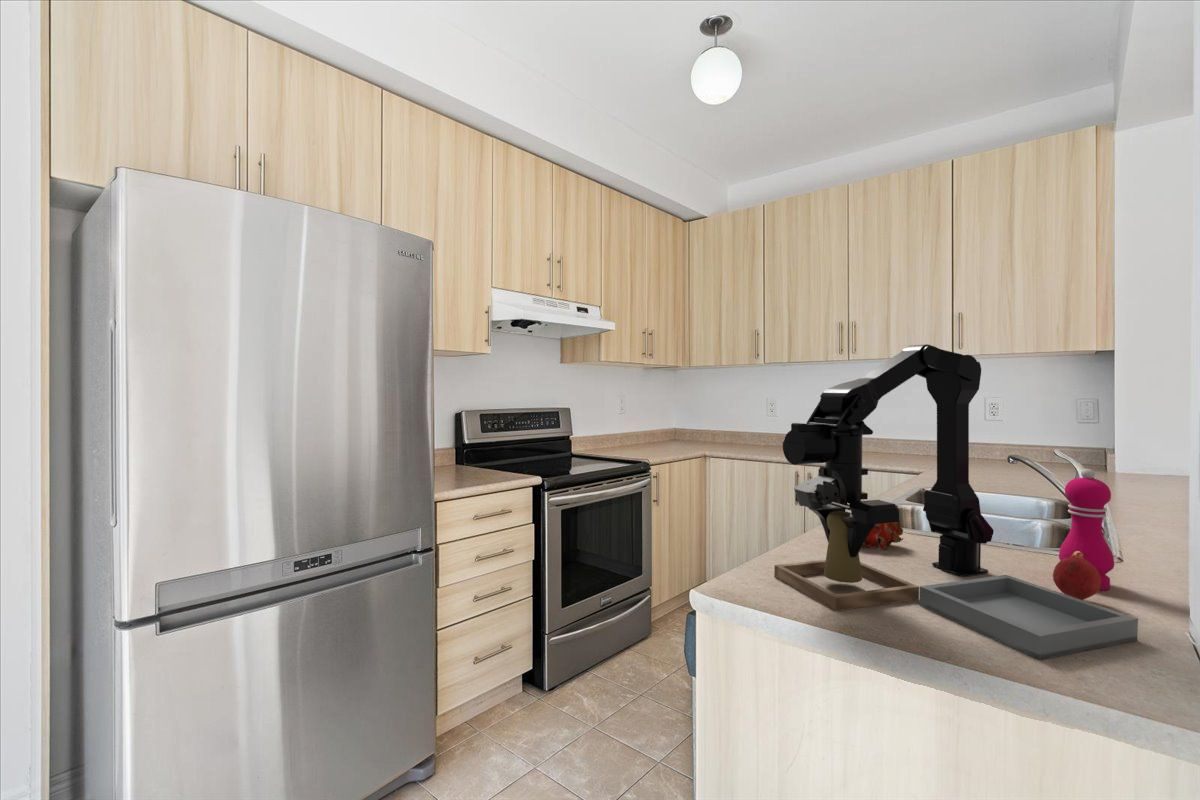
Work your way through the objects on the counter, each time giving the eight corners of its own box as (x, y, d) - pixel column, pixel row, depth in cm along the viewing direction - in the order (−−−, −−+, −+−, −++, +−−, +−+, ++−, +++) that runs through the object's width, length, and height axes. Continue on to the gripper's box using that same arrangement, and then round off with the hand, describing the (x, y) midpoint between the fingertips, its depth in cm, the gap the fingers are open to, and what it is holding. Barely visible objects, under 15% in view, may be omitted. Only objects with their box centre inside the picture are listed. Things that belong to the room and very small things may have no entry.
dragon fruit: (906, 553, 119) (858, 566, 116) (880, 522, 125) (834, 534, 122) (921, 528, 113) (871, 540, 111) (893, 497, 120) (845, 508, 117)
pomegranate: (1089, 611, 84) (1090, 559, 84) (1045, 598, 90) (1046, 549, 89) (1107, 604, 87) (1108, 553, 87) (1063, 592, 92) (1064, 544, 92)
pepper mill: (1118, 594, 91) (1121, 473, 90) (1062, 586, 95) (1064, 469, 94) (1108, 581, 97) (1110, 467, 97) (1055, 574, 101) (1057, 464, 100)
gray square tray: (1005, 592, 92) (1006, 574, 92) (1137, 640, 75) (1137, 618, 75) (919, 605, 87) (919, 586, 87) (1039, 659, 70) (1040, 636, 70)
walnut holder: (848, 567, 105) (848, 557, 105) (919, 599, 89) (919, 586, 89) (774, 576, 100) (774, 565, 100) (835, 610, 85) (835, 597, 85)
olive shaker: (866, 583, 91) (867, 517, 91) (827, 581, 92) (827, 515, 92) (857, 571, 97) (857, 509, 97) (820, 569, 98) (820, 507, 98)
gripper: (770, 456, 101) (770, 542, 101) (842, 472, 83) (841, 575, 83) (822, 454, 104) (821, 537, 104) (902, 468, 86) (901, 568, 87)
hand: (842, 552), depth 95 cm, fingers closed on olive shaker, 4 cm apart
